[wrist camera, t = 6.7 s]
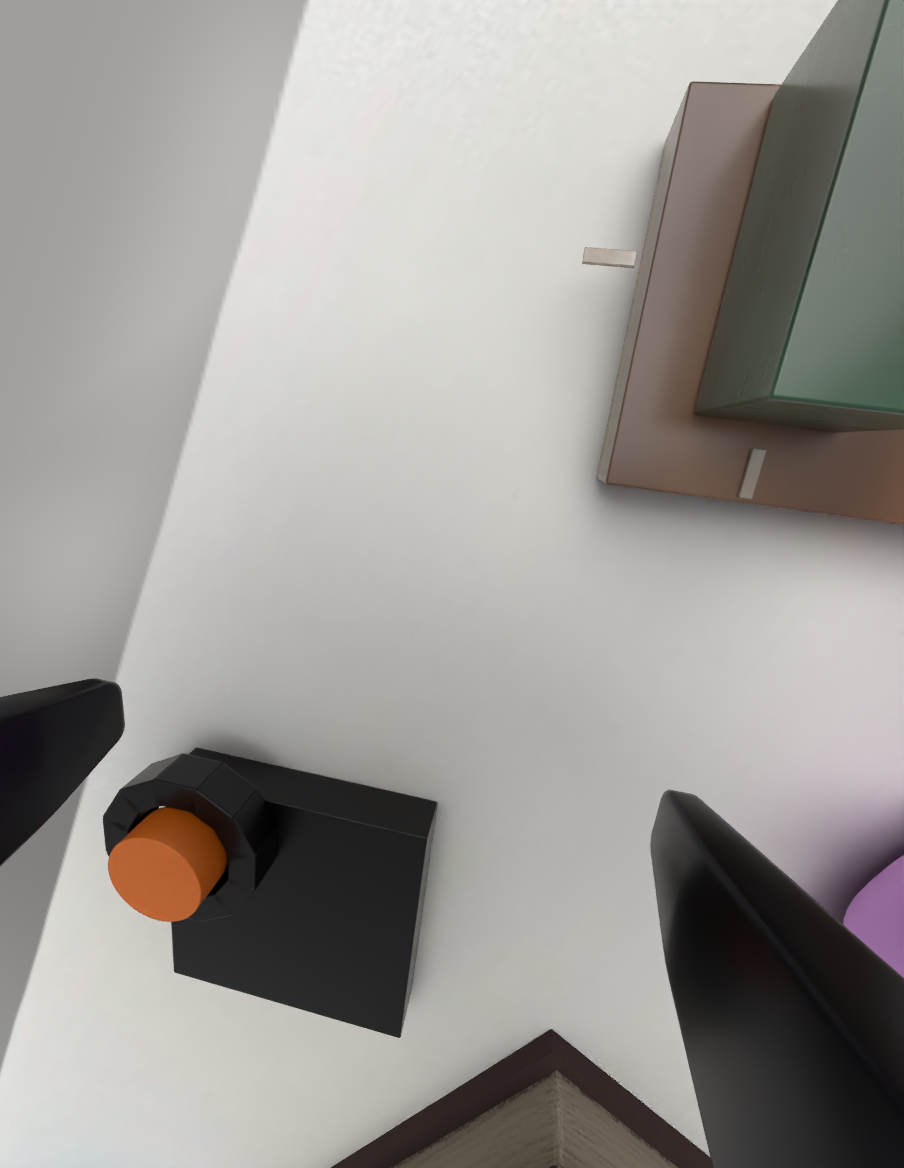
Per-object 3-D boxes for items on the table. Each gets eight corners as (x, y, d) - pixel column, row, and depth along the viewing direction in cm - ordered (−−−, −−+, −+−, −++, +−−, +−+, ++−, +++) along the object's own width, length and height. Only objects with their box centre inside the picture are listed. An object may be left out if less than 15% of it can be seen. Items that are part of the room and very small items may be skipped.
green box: (841, 432, 14) (1014, 424, 9) (692, 415, 14) (774, 397, 9) (954, 101, 12) (1267, -160, 7) (773, 93, 12) (937, -154, 7)
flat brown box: (544, 471, 18) (544, 475, 15) (615, 59, 14) (632, -24, 12) (971, 530, 16) (1051, 545, 14) (1167, 75, 13) (1325, -17, 10)
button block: (177, 925, 27) (119, 1002, 24) (167, 714, 24) (96, 766, 20) (411, 990, 26) (389, 1085, 22) (441, 774, 22) (421, 843, 18)
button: (144, 872, 22) (111, 907, 20) (138, 796, 20) (103, 827, 19) (228, 894, 21) (202, 933, 19) (227, 818, 20) (199, 852, 18)
